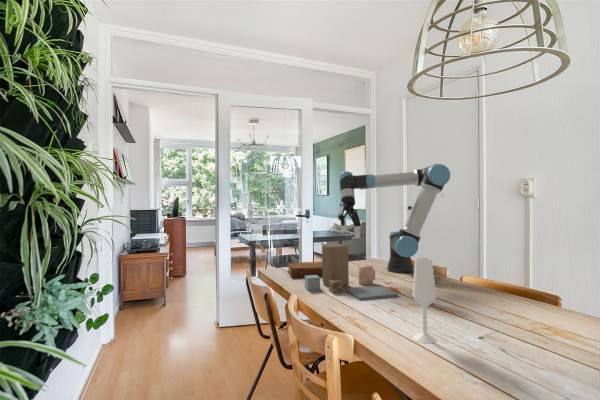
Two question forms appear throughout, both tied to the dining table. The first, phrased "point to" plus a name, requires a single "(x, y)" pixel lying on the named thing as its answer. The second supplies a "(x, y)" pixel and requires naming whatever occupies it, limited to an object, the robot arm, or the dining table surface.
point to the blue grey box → (312, 282)
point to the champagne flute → (424, 293)
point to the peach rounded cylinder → (366, 275)
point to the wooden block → (335, 263)
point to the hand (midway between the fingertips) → (351, 235)
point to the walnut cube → (335, 286)
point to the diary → (305, 269)
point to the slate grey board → (371, 292)
